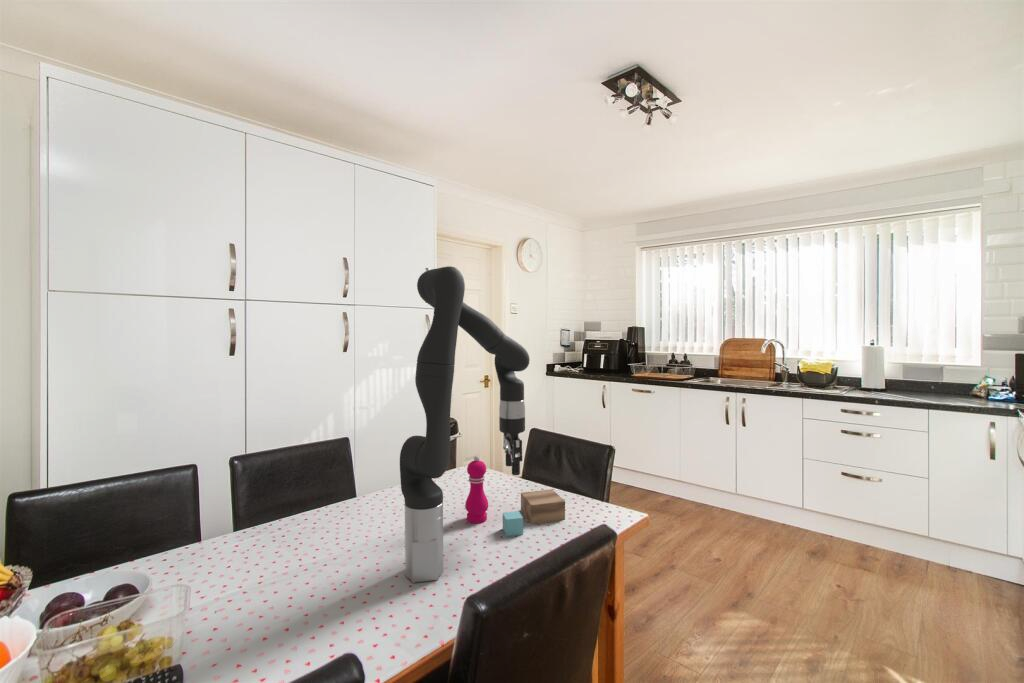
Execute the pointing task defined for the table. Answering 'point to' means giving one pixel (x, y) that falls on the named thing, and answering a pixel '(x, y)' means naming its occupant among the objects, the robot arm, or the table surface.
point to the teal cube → (512, 523)
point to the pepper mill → (476, 492)
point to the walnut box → (542, 506)
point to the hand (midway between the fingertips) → (512, 470)
